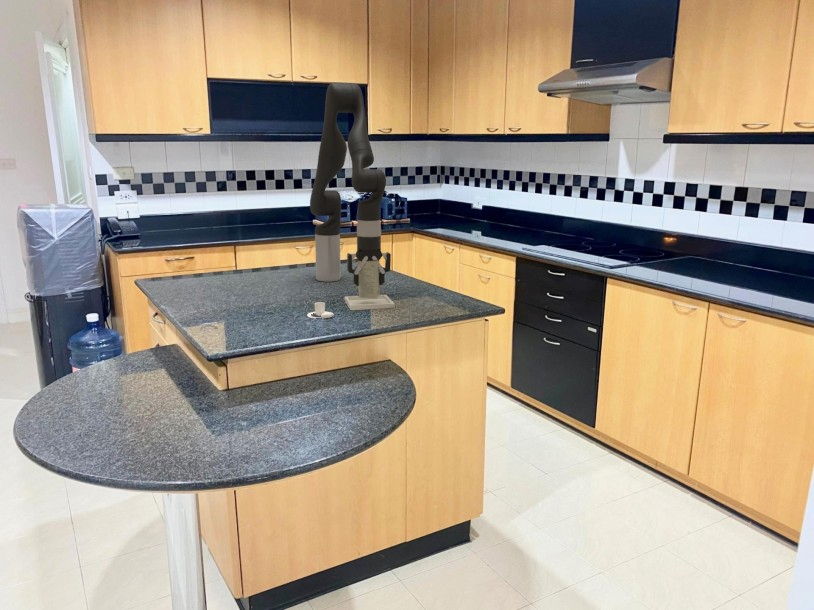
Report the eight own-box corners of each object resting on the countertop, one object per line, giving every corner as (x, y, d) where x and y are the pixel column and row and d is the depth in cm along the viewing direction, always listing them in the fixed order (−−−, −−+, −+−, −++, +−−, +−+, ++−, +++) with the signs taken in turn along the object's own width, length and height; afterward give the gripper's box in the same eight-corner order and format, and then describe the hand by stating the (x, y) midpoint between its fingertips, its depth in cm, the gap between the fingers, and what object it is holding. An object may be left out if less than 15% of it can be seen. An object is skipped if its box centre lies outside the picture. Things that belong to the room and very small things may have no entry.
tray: (344, 300, 212) (344, 296, 211) (386, 299, 215) (386, 294, 215) (350, 310, 200) (350, 305, 200) (394, 308, 204) (394, 303, 203)
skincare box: (380, 296, 209) (380, 259, 206) (376, 299, 204) (376, 261, 201) (361, 294, 210) (361, 258, 207) (357, 297, 206) (357, 260, 203)
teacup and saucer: (336, 319, 191) (336, 306, 190) (309, 321, 189) (309, 308, 188) (331, 312, 200) (330, 299, 199) (305, 313, 197) (305, 300, 196)
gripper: (388, 232, 207) (388, 281, 211) (344, 232, 204) (344, 283, 208) (393, 235, 200) (393, 286, 204) (348, 236, 197) (348, 288, 201)
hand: (368, 285), depth 206 cm, fingers closed on skincare box, 7 cm apart
